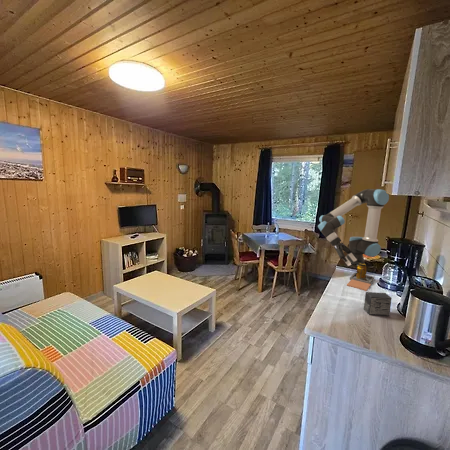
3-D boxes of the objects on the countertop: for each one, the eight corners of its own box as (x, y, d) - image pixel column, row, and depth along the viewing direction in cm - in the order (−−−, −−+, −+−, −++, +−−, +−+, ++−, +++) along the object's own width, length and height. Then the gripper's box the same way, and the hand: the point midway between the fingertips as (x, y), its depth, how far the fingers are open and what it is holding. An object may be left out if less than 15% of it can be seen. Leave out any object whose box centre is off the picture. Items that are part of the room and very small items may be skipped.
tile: (351, 280, 170) (351, 279, 170) (370, 285, 162) (370, 284, 162) (346, 285, 161) (346, 284, 161) (366, 291, 153) (366, 289, 153)
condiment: (353, 277, 176) (355, 262, 174) (365, 278, 175) (367, 262, 173) (358, 281, 168) (360, 265, 166) (370, 282, 168) (372, 266, 166)
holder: (354, 274, 181) (354, 272, 180) (374, 279, 172) (374, 277, 172) (349, 279, 171) (349, 277, 171) (370, 285, 163) (370, 282, 162)
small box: (383, 310, 130) (385, 292, 129) (390, 316, 124) (392, 298, 122) (362, 308, 131) (365, 291, 130) (368, 315, 125) (371, 296, 123)
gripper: (335, 239, 192) (353, 261, 185) (323, 244, 174) (343, 269, 167) (343, 234, 188) (361, 256, 180) (332, 239, 170) (352, 264, 162)
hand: (352, 263), depth 174 cm, fingers open, 13 cm apart
